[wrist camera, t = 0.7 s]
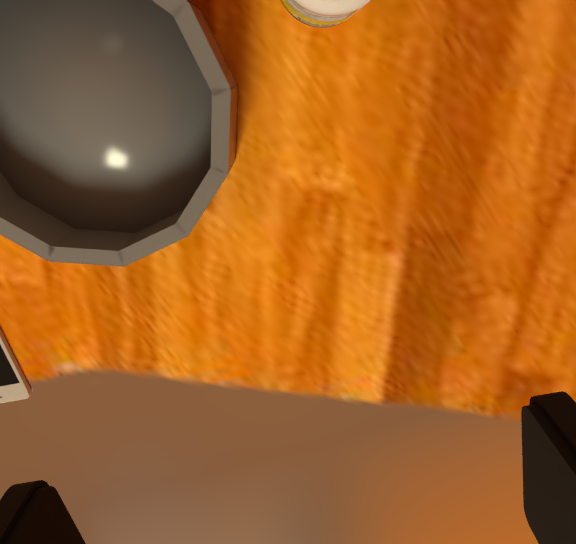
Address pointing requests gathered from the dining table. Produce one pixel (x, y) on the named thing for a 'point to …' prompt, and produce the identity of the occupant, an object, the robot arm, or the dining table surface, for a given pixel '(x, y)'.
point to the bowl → (110, 126)
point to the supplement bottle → (323, 11)
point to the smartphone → (11, 376)
